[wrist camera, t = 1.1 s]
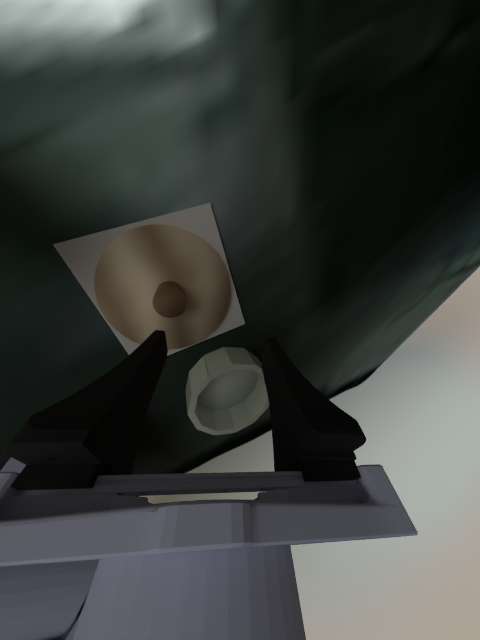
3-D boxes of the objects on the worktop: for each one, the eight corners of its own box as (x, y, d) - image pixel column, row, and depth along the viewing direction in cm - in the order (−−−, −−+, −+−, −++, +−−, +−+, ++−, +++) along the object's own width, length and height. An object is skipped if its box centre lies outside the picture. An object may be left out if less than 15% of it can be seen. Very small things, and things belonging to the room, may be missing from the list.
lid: (140, 363, 23) (133, 386, 19) (62, 248, 16) (29, 249, 13) (240, 321, 25) (252, 335, 21) (206, 209, 19) (215, 200, 15)
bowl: (203, 420, 30) (207, 447, 26) (173, 368, 25) (173, 391, 21) (266, 389, 32) (279, 409, 29) (250, 335, 27) (264, 350, 23)
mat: (138, 365, 23) (137, 367, 23) (56, 244, 17) (53, 244, 16) (243, 322, 26) (245, 323, 26) (209, 203, 19) (210, 202, 19)
